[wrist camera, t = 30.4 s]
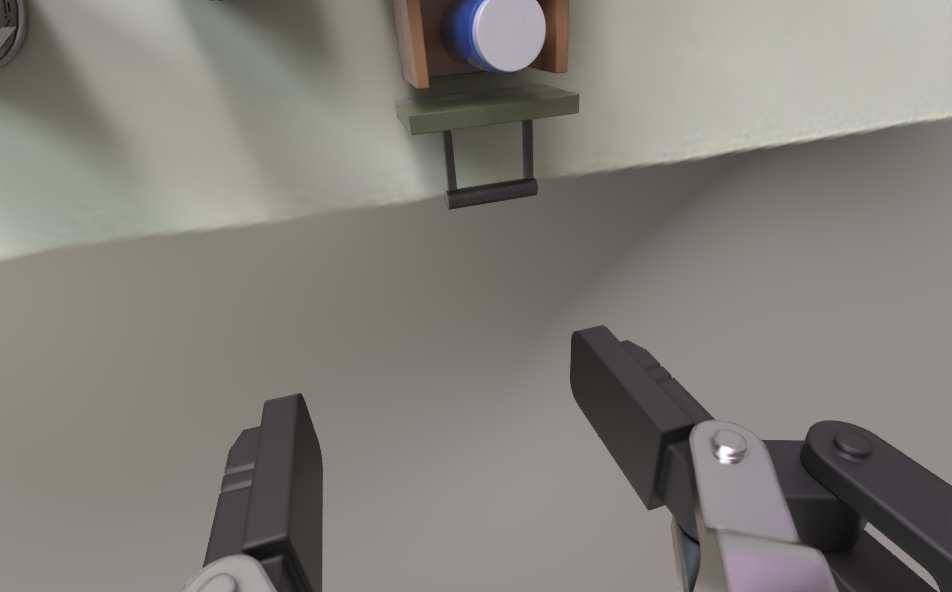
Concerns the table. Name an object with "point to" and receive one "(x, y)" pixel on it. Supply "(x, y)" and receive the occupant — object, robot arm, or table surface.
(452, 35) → the pepper shaker
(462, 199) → the drawer
